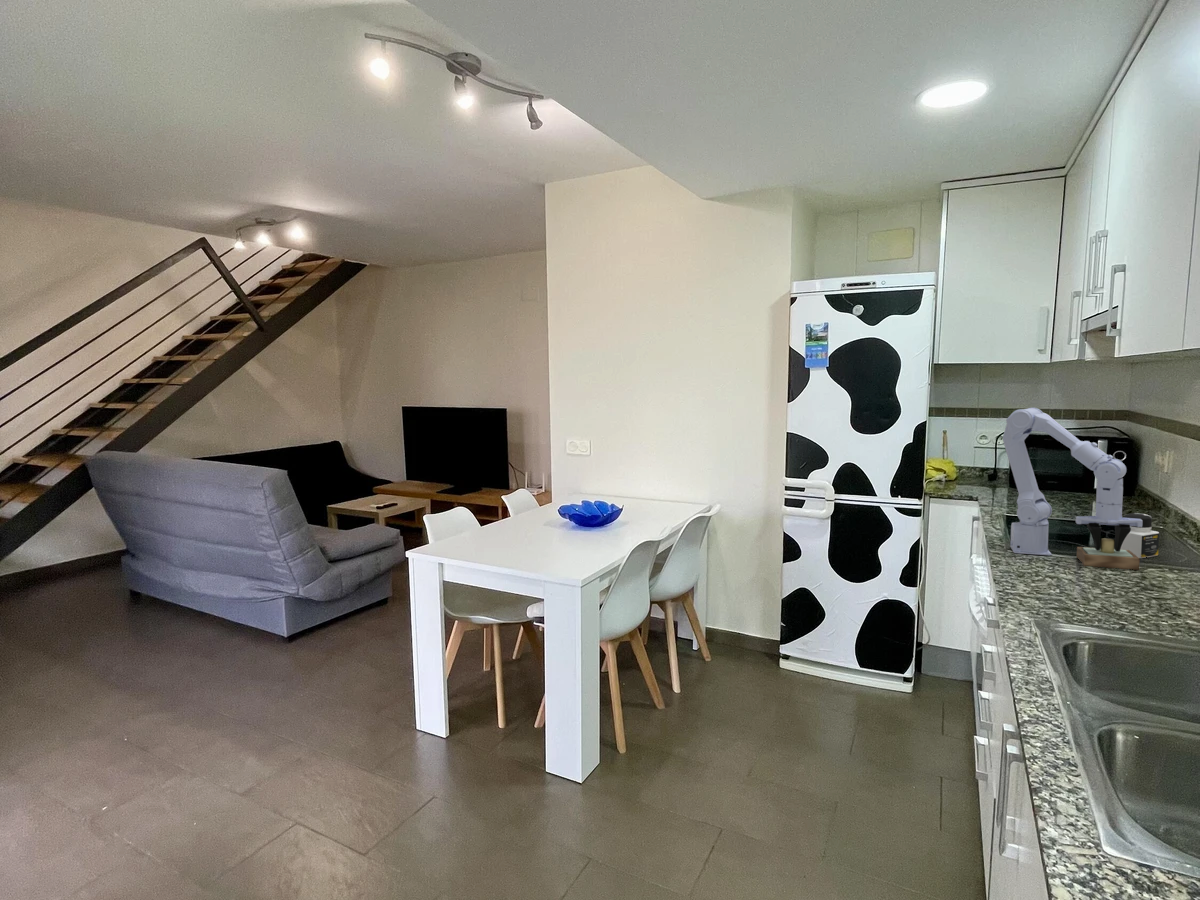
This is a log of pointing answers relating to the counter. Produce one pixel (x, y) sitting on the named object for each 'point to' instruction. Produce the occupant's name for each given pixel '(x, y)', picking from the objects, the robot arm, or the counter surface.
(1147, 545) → the medicine bottle
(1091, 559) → the box
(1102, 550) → the lid
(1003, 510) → the counter surface
